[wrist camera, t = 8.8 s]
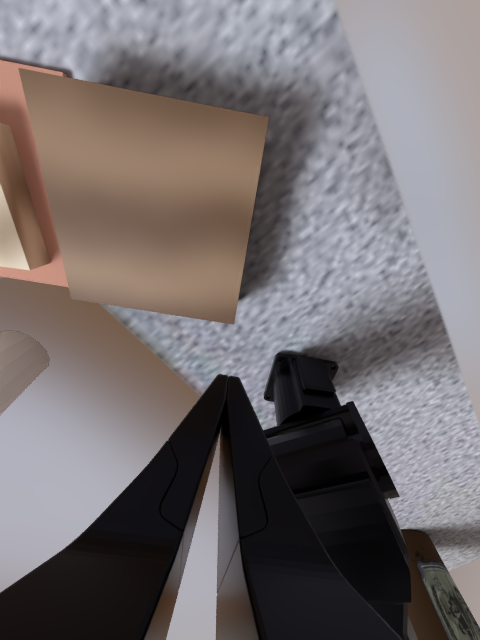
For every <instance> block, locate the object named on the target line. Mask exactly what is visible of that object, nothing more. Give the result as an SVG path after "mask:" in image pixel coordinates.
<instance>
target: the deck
mask: <svg viewBox="0 0 480 640" xmlns="http://www.w3.org/2000/svg"><path fill="white" fill-rule="evenodd" d="M18 69H19V74H20V78H21V82H22V87H23V91H24V95H25V100H26V104H27V108H28V113H29V117H30V121H31V126H32V130H33V134H34V139H35V143H36V147H37V152H38V156H39V161H40V165H41V169H42V174H43V178H44V182H45V187H46V191H47V195H48V200H49V204H50V208H51V213H52V217H53V221H54V226H55V230H56V234H57V239H58V243H59V248H60V252H61V256H62V261H63V265H64V269H65V274H66V278H67V282H68V287H69V291H70V295H71V299H76V300H82V301H89V302H95V303H101V304H108V305H114V306H120V307H127V308H133V309H139V310H145V311H152V312H158V313H164V314H171V315H177V316H183V317H190V318H196V319H202V320H209V321H215V322H221V323H228V324H234V321H235V315H236V309H237V303H238V298H239V292H240V286H241V280H242V274H243V268H244V262H245V256H246V250H247V244H248V238H249V233H250V227H251V221H252V215H253V209H254V203H255V197H256V191H257V185H258V179H259V174H260V168H261V162H262V156H263V150H264V144H265V138H266V132H267V126H268V120H269V117H266V116H261V115H256V114H250V113H245V112H240V111H235V110H230V109H225V108H220V107H215V106H210V105H205V104H200V103H195V102H190V101H184V100H179V99H174V98H169V97H164V96H159V95H154V94H149V93H144V92H139V91H134V90H129V89H124V88H118V87H113V86H108V85H103V84H98V83H93V82H88V81H83V80H78V79H73V78H68V77H63V76H58V75H52V74H47V73H42V72H37V71H32V70H27V69H22V68H18Z"/></svg>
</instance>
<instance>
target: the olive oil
mask: <svg viewBox="0 0 480 640" xmlns="http://www.w3.org/2000/svg"><path fill="white" fill-rule="evenodd" d="M401 533H402V536H403V538H404V541H405V544H406V547H407V549H408V552H409V570H410V576H411V603H408V617H409V619H410V621H411V624H412V626H413V629H414V631H415V634H416V636H417V639H418V640H480V628H479V626H478V624H477V622H476V621H475V619H474V617H473V615H472V613H471V612H470V610H469V608H468V606H467V604H466V603H465V601H464V599H463V597H462V595H461V594H460V592H459V590H458V588H457V587H456V585H455V583H454V581H453V579H452V577H451V576H450V574H449V572H448V570H447V568H446V567H445V565H444V563H443V561H442V559H441V558H440V556H439V554H438V552H437V550H436V548H435V546H434V545H433V543H432V541H431V539H430V538H429V536H428V535H427V534H425V533H423V532H420V531H414V530H401Z"/></svg>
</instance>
